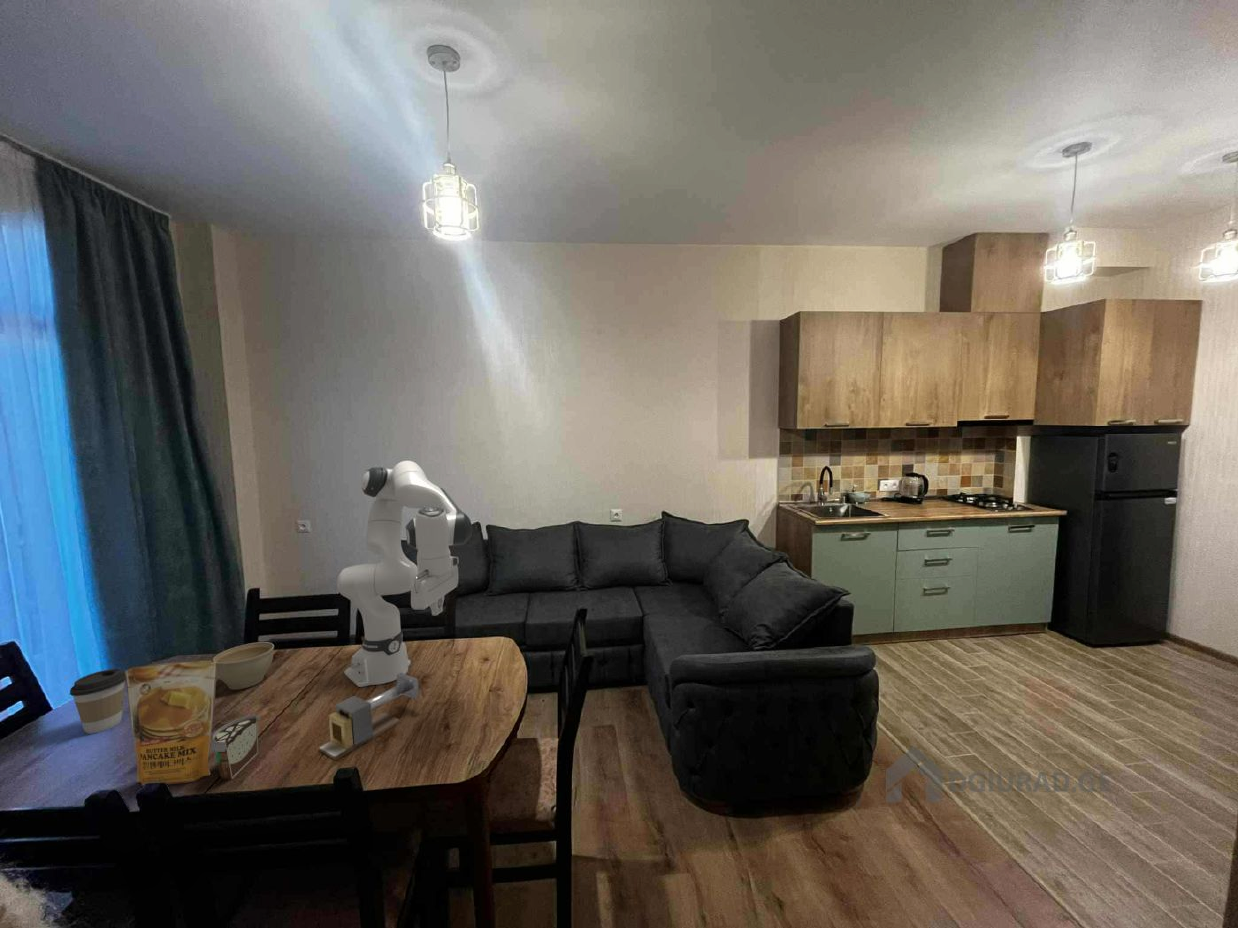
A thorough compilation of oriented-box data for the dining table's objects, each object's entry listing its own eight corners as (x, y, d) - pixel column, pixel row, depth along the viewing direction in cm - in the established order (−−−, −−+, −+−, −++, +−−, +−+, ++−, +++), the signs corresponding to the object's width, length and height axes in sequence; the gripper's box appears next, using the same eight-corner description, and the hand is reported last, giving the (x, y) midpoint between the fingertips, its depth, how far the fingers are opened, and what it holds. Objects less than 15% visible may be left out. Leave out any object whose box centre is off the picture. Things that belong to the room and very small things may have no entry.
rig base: (318, 750, 125) (318, 747, 124) (383, 714, 140) (382, 711, 140) (335, 760, 120) (335, 756, 120) (399, 722, 136) (399, 719, 136)
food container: (237, 751, 125) (233, 715, 125) (261, 749, 126) (258, 713, 125) (199, 785, 113) (196, 745, 112) (227, 783, 113) (223, 743, 113)
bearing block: (338, 739, 129) (335, 704, 128) (356, 729, 133) (353, 695, 132) (354, 748, 125) (352, 712, 124) (373, 738, 129) (370, 703, 128)
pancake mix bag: (147, 770, 119) (136, 661, 117) (228, 762, 121) (219, 655, 119) (121, 790, 112) (110, 675, 111) (208, 781, 114) (198, 668, 113)
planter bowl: (275, 684, 159) (272, 653, 159) (212, 701, 150) (209, 668, 150) (277, 666, 173) (274, 637, 172) (219, 680, 164) (216, 649, 163)
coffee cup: (140, 718, 142) (135, 669, 141) (87, 741, 132) (82, 689, 131) (117, 712, 146) (112, 664, 145) (64, 734, 135) (59, 683, 134)
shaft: (344, 720, 130) (343, 700, 130) (402, 690, 145) (401, 672, 145) (361, 729, 126) (359, 708, 126) (418, 696, 141) (417, 678, 141)
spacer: (330, 741, 127) (328, 715, 126) (338, 737, 128) (336, 711, 128) (345, 749, 123) (343, 722, 123) (353, 745, 125) (351, 718, 124)
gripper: (425, 576, 123) (428, 628, 124) (461, 556, 143) (463, 601, 144) (402, 576, 124) (406, 628, 125) (441, 556, 144) (444, 600, 145)
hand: (437, 613), depth 135 cm, fingers closed
